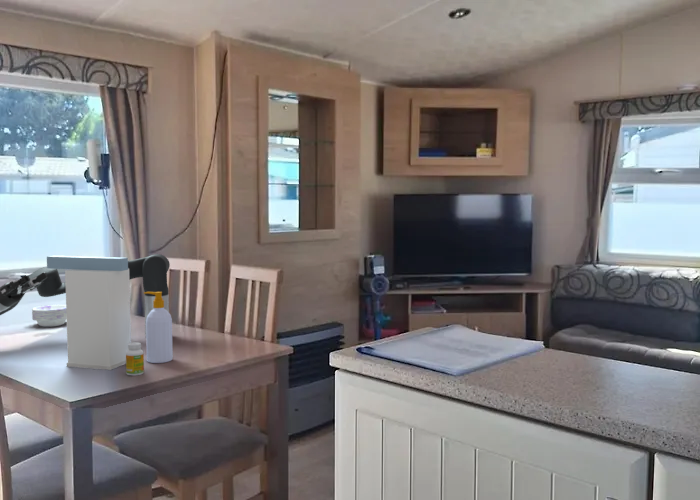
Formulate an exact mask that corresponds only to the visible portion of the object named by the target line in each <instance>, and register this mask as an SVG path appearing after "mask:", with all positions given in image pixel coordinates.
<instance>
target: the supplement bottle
mask: <svg viewBox="0 0 700 500" xmlns="http://www.w3.org/2000/svg"><path fill="white" fill-rule="evenodd" d="M141 348H142V343H141V342H131V343H129V344H128V349H129V350H128V351H127V352H126V364H125V366H126V367H125V372H126V375H128V376H131V377H132V376H141V375H143V374H145V373H144V372H145V360H144V359H145V357H144V350H143V349H141Z"/></svg>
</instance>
